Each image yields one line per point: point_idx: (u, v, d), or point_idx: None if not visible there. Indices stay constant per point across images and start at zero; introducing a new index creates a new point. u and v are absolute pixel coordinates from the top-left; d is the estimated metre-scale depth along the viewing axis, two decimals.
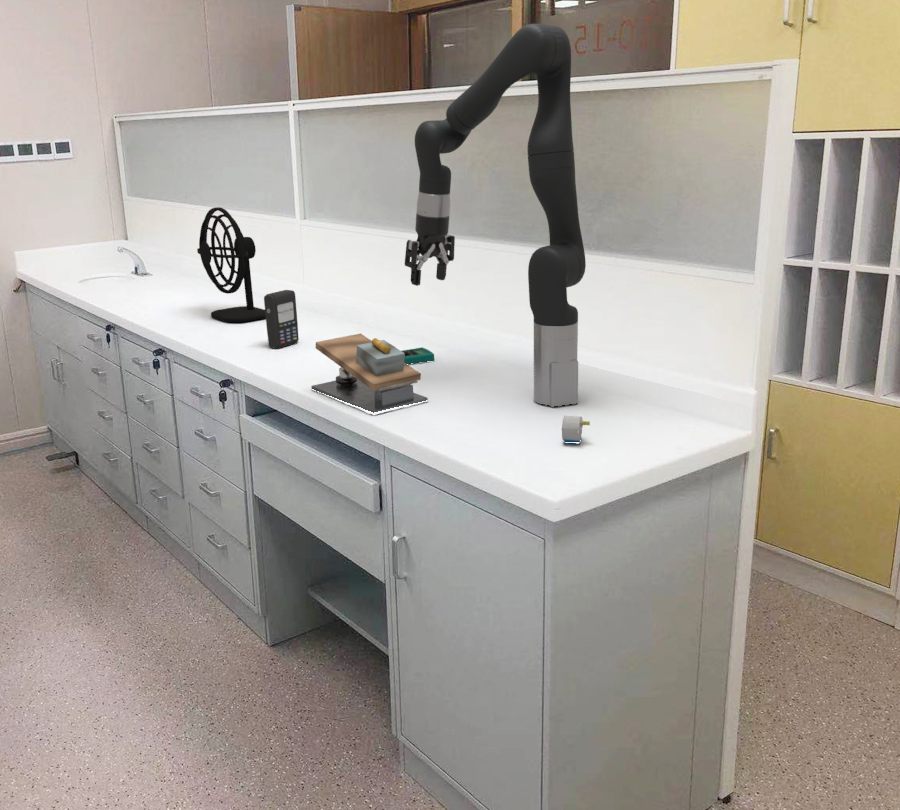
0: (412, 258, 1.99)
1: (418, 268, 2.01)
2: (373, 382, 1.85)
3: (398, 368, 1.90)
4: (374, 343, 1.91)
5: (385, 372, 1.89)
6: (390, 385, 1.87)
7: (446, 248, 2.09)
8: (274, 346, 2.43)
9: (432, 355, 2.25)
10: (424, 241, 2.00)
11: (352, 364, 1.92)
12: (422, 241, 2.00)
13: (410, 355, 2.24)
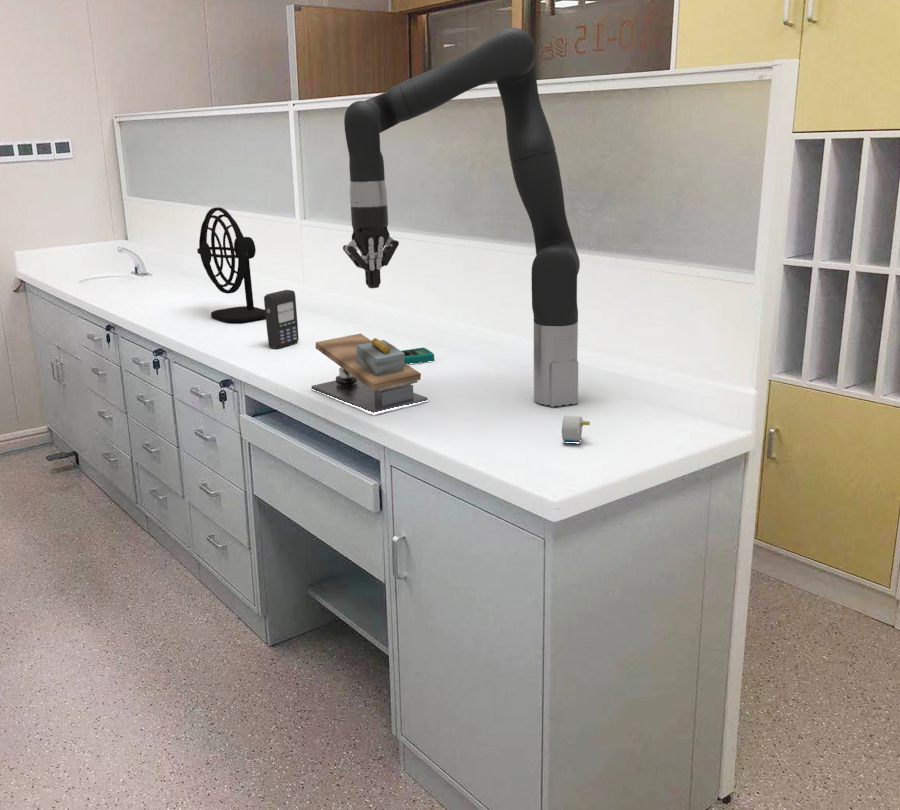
0: (358, 261, 1.83)
1: (372, 269, 1.85)
2: (373, 382, 1.85)
3: (398, 368, 1.90)
4: (374, 343, 1.91)
5: (385, 372, 1.89)
6: (390, 385, 1.87)
7: (385, 251, 1.88)
8: (274, 346, 2.43)
9: (432, 355, 2.25)
10: (358, 237, 1.81)
11: (352, 364, 1.92)
12: (356, 238, 1.81)
13: (410, 355, 2.24)
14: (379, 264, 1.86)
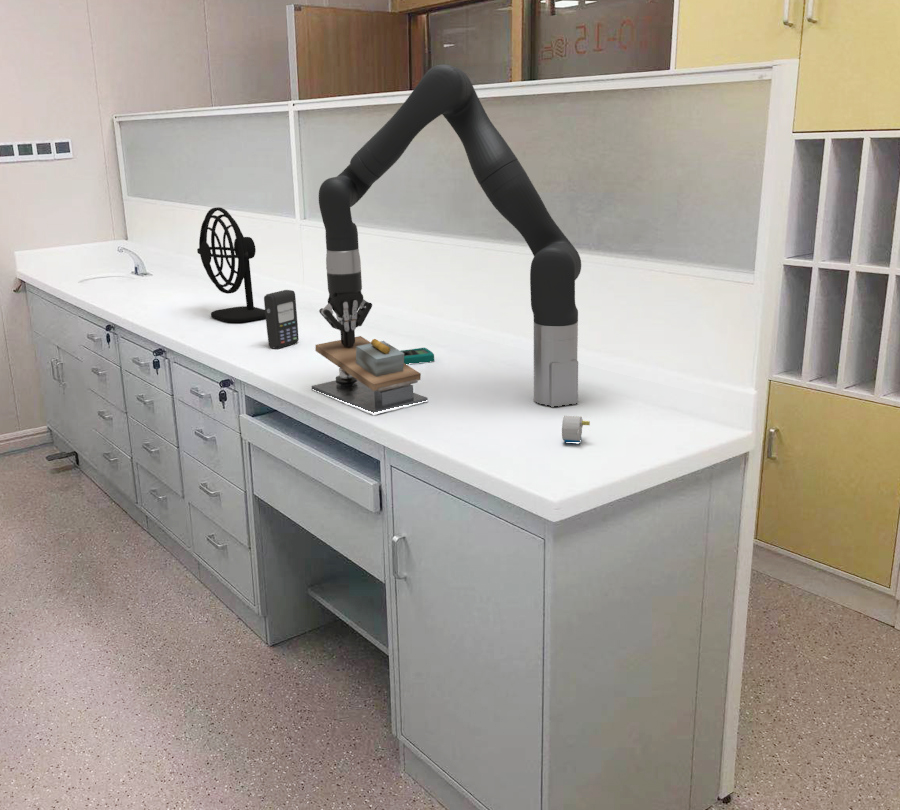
0: (333, 323, 1.96)
1: (346, 330, 1.98)
2: (373, 382, 1.85)
3: (398, 368, 1.91)
4: (373, 344, 1.91)
5: (385, 372, 1.89)
6: (390, 385, 1.87)
7: (359, 313, 2.01)
8: (274, 346, 2.43)
9: (432, 355, 2.25)
10: (333, 301, 1.95)
11: (352, 365, 1.92)
12: (331, 303, 1.95)
13: (410, 355, 2.24)
14: (353, 325, 1.99)
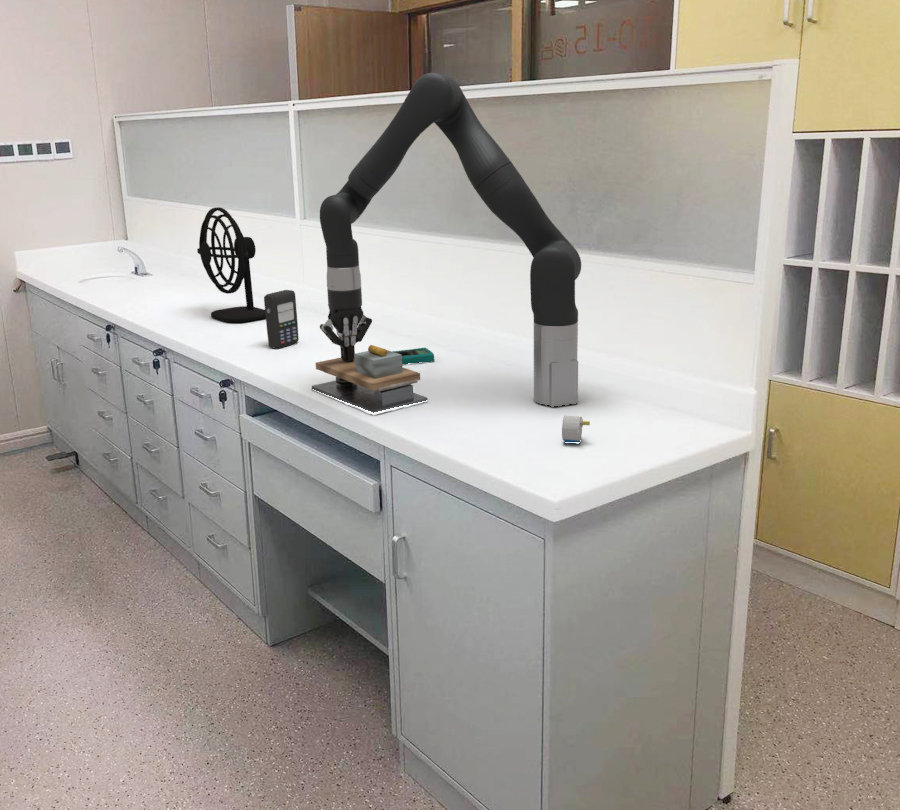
0: (333, 339, 1.98)
1: (346, 345, 2.00)
2: (372, 382, 1.85)
3: (397, 370, 1.91)
4: (371, 349, 1.92)
5: (384, 374, 1.89)
6: (390, 385, 1.87)
7: (359, 328, 2.02)
8: (274, 346, 2.43)
9: (432, 356, 2.25)
10: (333, 317, 1.96)
11: (351, 373, 1.93)
12: (332, 318, 1.96)
13: (409, 355, 2.24)
14: (353, 341, 2.01)
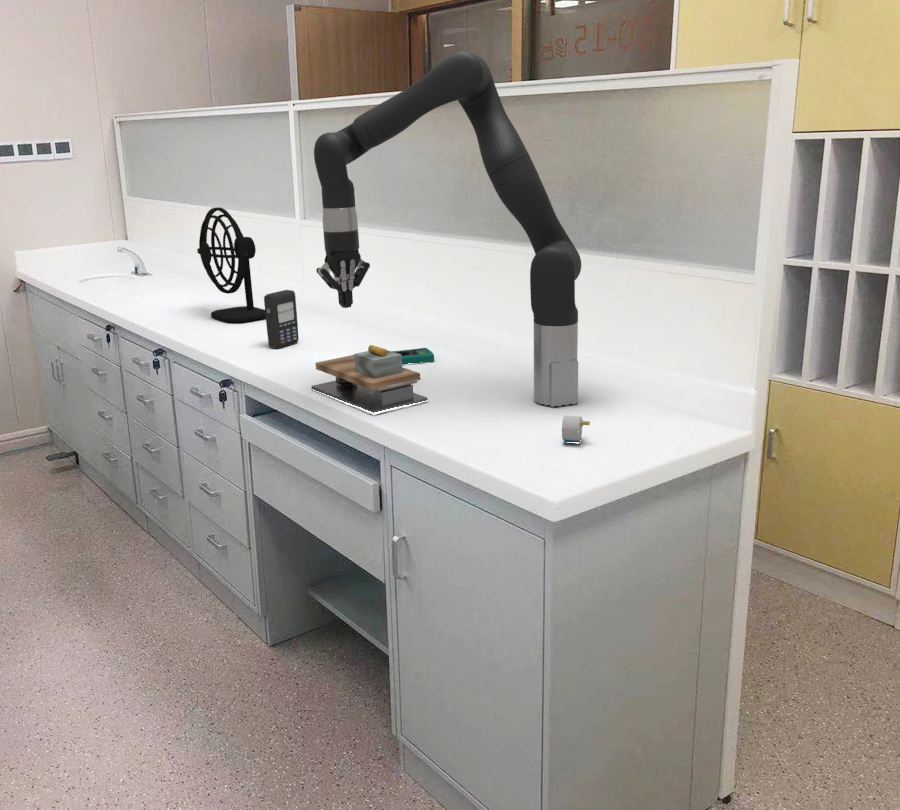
0: (330, 283, 1.93)
1: (344, 290, 1.96)
2: (372, 382, 1.85)
3: (397, 370, 1.91)
4: (371, 349, 1.92)
5: (384, 374, 1.89)
6: (390, 385, 1.87)
7: (357, 273, 1.98)
8: (274, 346, 2.43)
9: (432, 356, 2.25)
10: (330, 260, 1.92)
11: (351, 373, 1.93)
12: (328, 261, 1.92)
13: (409, 355, 2.24)
14: (351, 285, 1.96)
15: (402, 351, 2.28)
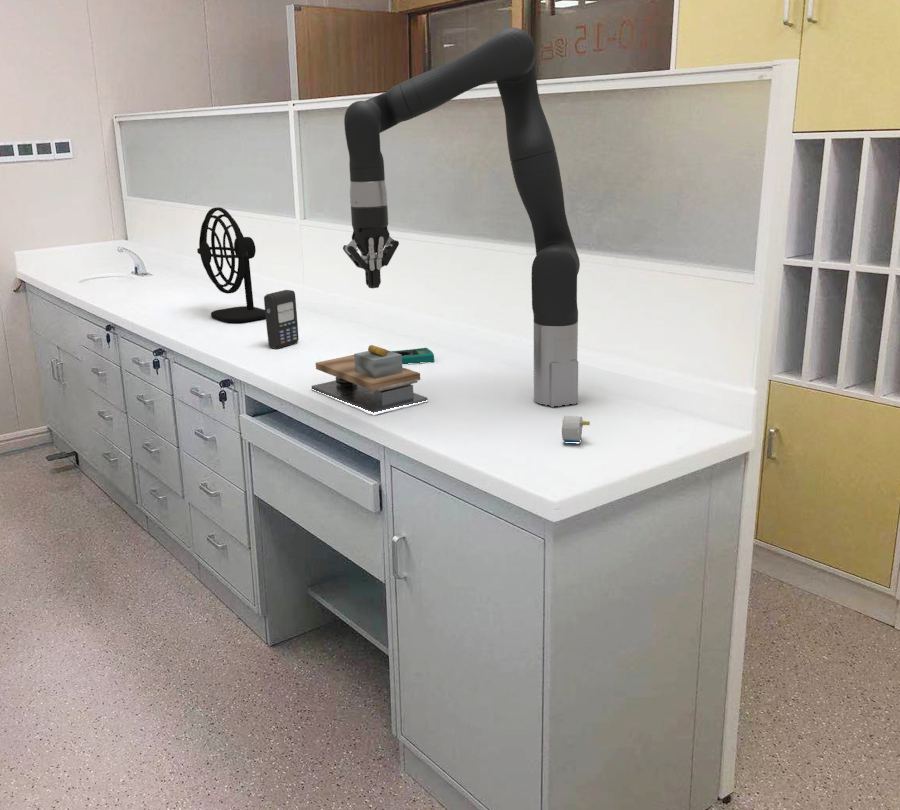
0: (358, 261, 1.83)
1: (372, 269, 1.85)
2: (372, 382, 1.85)
3: (397, 370, 1.91)
4: (371, 349, 1.92)
5: (384, 374, 1.89)
6: (390, 385, 1.87)
7: (385, 251, 1.88)
8: (274, 346, 2.43)
9: (432, 356, 2.25)
10: (358, 237, 1.81)
11: (351, 373, 1.93)
12: (356, 238, 1.81)
13: (409, 355, 2.24)
14: (379, 264, 1.86)
15: (402, 351, 2.29)
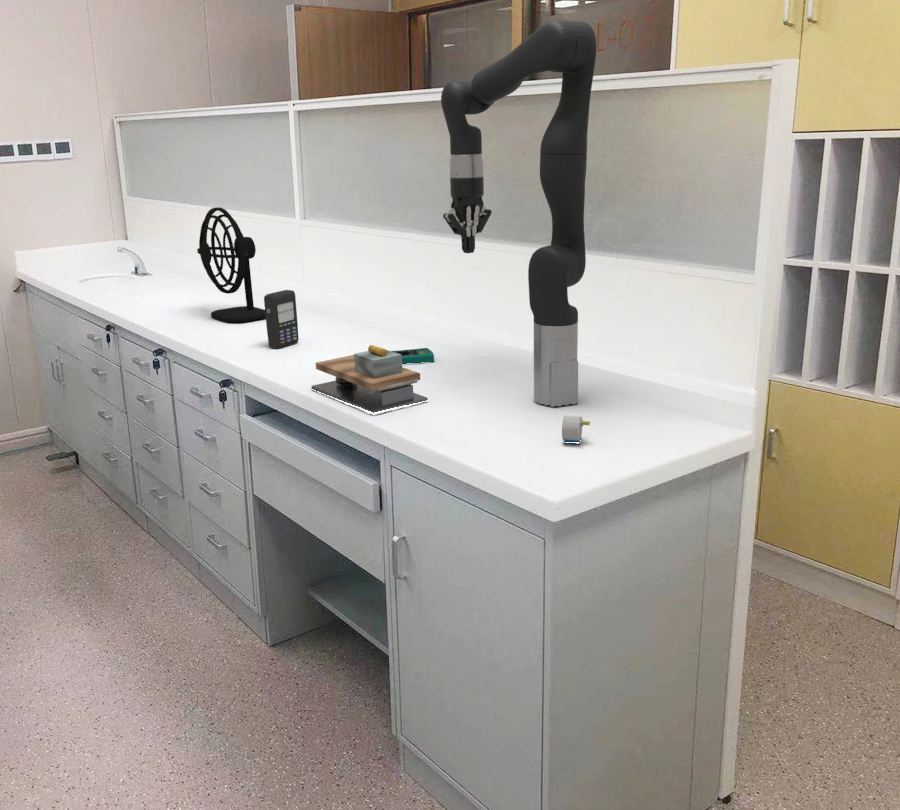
0: (456, 228, 2.00)
1: (468, 235, 2.02)
2: (372, 382, 1.85)
3: (397, 370, 1.91)
4: (371, 349, 1.92)
5: (384, 374, 1.89)
6: (390, 385, 1.87)
7: (479, 219, 2.05)
8: (274, 346, 2.43)
9: (431, 356, 2.24)
10: (457, 205, 1.99)
11: (351, 373, 1.93)
12: (456, 207, 1.99)
13: (409, 355, 2.24)
14: (474, 231, 2.03)
15: (403, 351, 2.29)
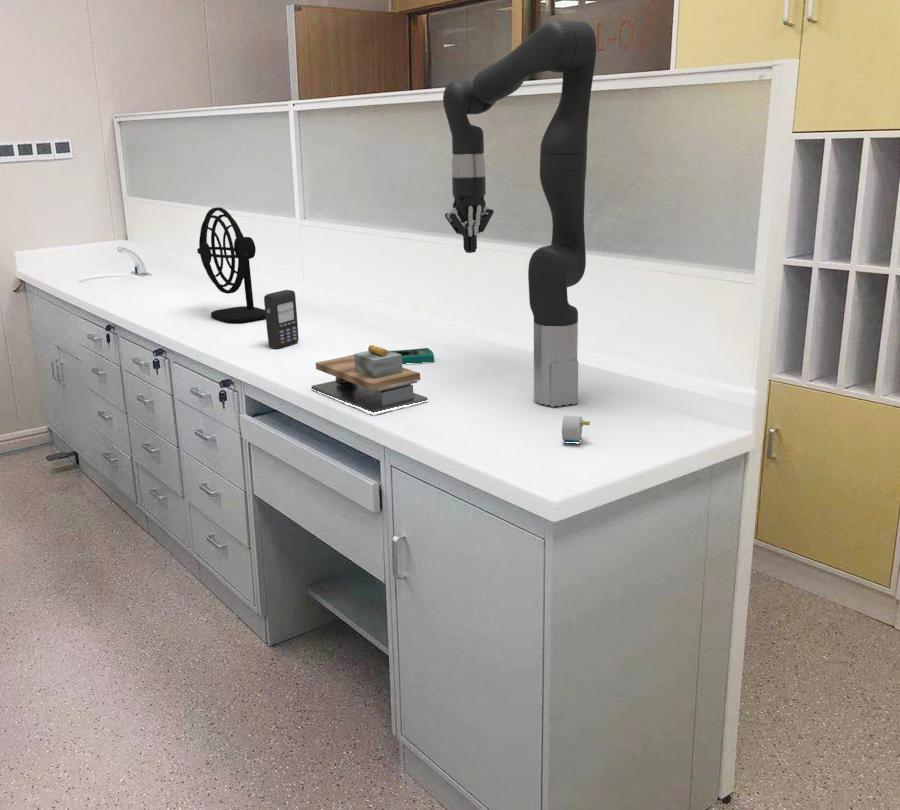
0: (458, 227, 2.00)
1: (470, 235, 2.02)
2: (372, 382, 1.85)
3: (397, 370, 1.91)
4: (371, 349, 1.92)
5: (384, 374, 1.89)
6: (390, 385, 1.87)
7: (481, 219, 2.05)
8: (274, 346, 2.43)
9: (431, 356, 2.24)
10: (459, 205, 1.99)
11: (351, 373, 1.93)
12: (457, 206, 1.99)
13: (409, 355, 2.24)
14: (476, 230, 2.03)
15: (403, 351, 2.29)
